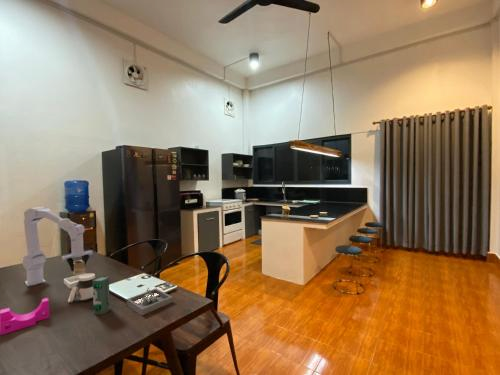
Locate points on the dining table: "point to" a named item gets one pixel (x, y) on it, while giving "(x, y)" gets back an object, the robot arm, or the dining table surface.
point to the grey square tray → (150, 307)
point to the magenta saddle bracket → (22, 317)
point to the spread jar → (83, 288)
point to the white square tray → (72, 281)
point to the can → (101, 295)
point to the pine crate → (78, 267)
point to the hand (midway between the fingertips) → (78, 269)
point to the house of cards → (151, 298)
